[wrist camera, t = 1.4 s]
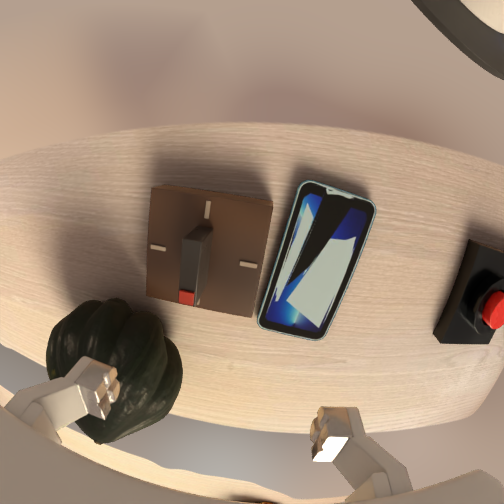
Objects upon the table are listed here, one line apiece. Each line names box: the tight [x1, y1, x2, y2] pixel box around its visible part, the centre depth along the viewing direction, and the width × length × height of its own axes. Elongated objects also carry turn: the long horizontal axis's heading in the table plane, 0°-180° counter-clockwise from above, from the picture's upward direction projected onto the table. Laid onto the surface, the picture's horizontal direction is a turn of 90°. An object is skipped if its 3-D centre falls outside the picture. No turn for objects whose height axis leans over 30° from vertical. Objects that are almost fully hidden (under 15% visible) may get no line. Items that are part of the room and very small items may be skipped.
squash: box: [46, 298, 183, 445], centre depth 25 cm, size 14×15×15 cm
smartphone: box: [257, 180, 376, 341], centre depth 25 cm, size 7×1×15 cm
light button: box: [482, 291, 504, 329], centre depth 21 cm, size 4×4×2 cm
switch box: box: [433, 239, 504, 344], centre depth 24 cm, size 12×10×4 cm
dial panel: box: [146, 185, 273, 318], centre depth 25 cm, size 10×10×3 cm
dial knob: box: [178, 226, 214, 306], centre depth 21 cm, size 5×1×4 cm, turn 171°
